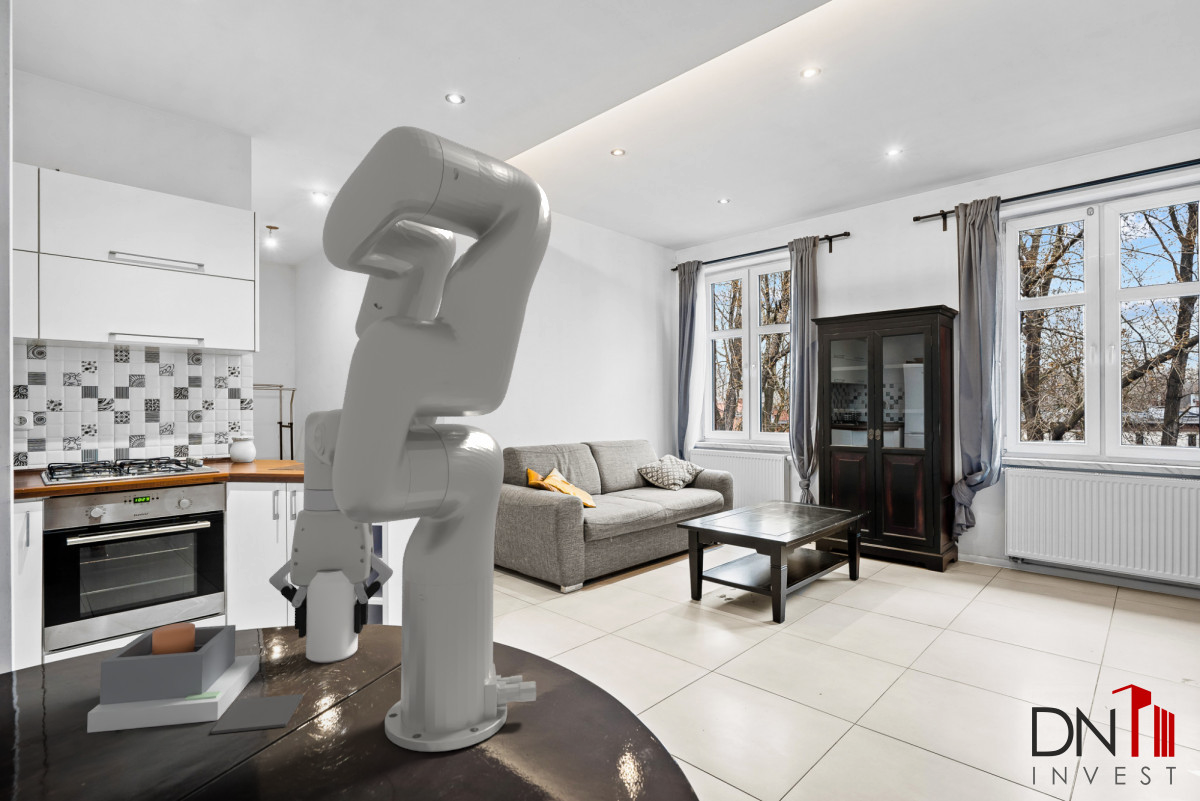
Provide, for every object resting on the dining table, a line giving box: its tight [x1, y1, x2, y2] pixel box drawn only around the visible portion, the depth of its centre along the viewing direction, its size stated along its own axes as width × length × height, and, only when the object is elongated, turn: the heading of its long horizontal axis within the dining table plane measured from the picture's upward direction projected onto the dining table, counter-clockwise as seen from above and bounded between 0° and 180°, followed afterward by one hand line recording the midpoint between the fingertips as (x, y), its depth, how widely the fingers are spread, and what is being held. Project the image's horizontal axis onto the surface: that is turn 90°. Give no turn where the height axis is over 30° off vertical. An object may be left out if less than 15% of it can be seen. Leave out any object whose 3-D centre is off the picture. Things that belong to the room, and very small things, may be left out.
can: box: [305, 570, 359, 664], centre depth 82 cm, size 6×6×12 cm
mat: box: [210, 693, 304, 735], centre depth 66 cm, size 7×7×1 cm
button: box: [152, 622, 196, 655], centre depth 69 cm, size 4×4×3 cm
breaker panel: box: [86, 624, 260, 734], centre depth 69 cm, size 12×13×6 cm
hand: (331, 631), depth 82 cm, fingers closed on can, 6 cm apart
